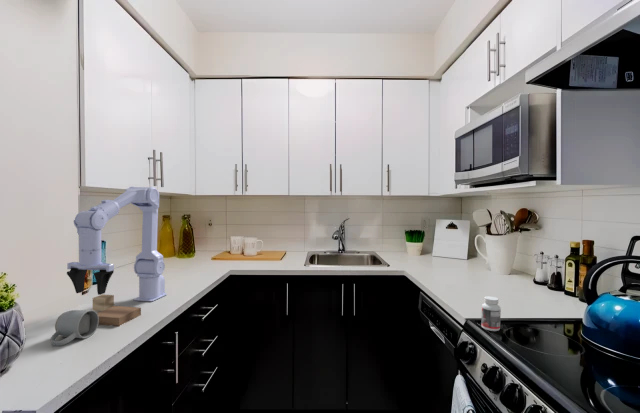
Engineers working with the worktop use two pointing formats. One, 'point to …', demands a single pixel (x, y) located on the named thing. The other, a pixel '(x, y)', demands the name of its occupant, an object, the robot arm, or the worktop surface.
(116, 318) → the walnut block
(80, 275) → the robot arm
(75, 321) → the ceramic mug
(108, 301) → the oak cube
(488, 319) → the pill bottle
